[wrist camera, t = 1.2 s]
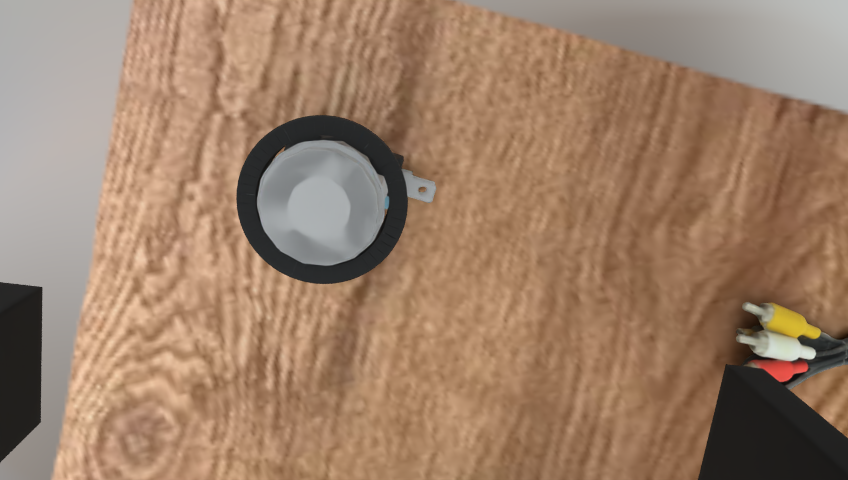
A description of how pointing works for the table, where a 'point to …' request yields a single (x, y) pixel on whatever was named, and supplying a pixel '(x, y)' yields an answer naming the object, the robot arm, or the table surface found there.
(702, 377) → the table surface
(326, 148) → the push button
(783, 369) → the composite cable
